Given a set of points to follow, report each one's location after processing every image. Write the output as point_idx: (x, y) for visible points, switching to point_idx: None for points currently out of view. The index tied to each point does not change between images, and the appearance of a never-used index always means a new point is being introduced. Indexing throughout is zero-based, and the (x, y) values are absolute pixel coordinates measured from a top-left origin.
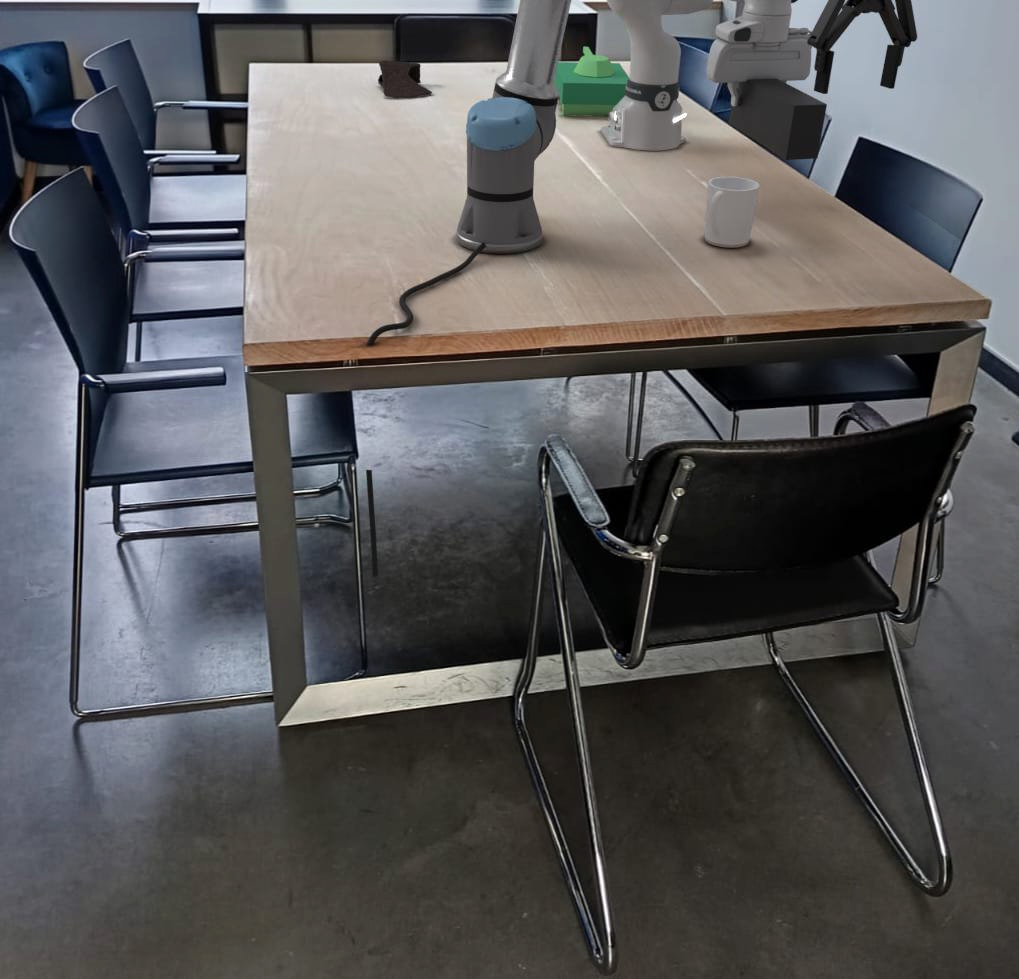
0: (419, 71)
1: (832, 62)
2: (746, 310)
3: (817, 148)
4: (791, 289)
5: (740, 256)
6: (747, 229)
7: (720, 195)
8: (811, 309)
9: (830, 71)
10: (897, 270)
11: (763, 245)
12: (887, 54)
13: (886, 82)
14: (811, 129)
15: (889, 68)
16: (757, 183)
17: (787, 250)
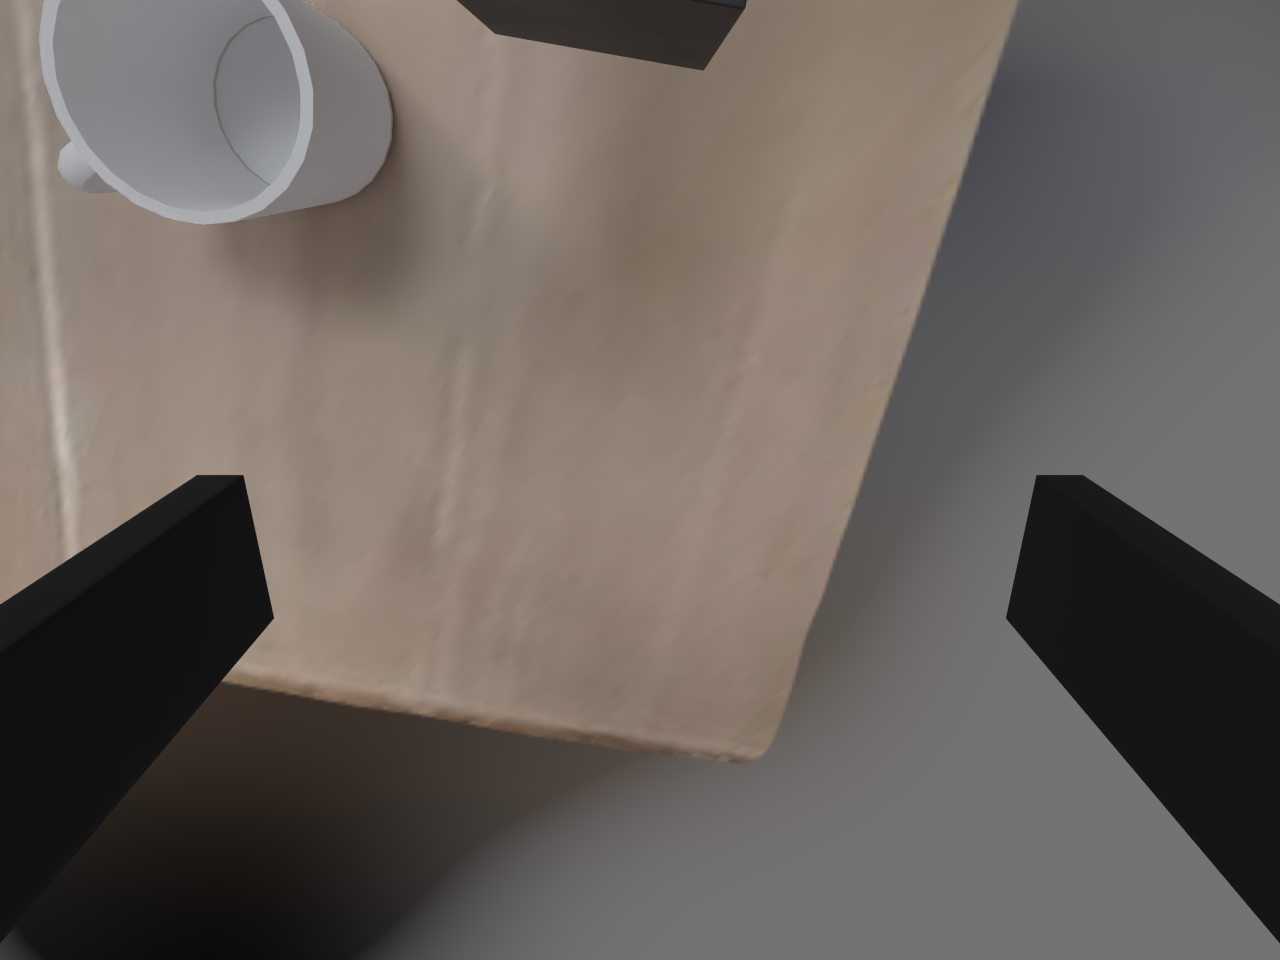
0: None
1: (75, 851)
2: None
3: (696, 61)
4: (329, 567)
5: (296, 279)
6: (326, 201)
7: (84, 181)
8: (316, 683)
9: (142, 763)
10: (715, 549)
11: (432, 204)
12: (1275, 697)
13: (1040, 579)
14: (628, 27)
15: (1127, 667)
16: (308, 126)
17: (490, 283)
